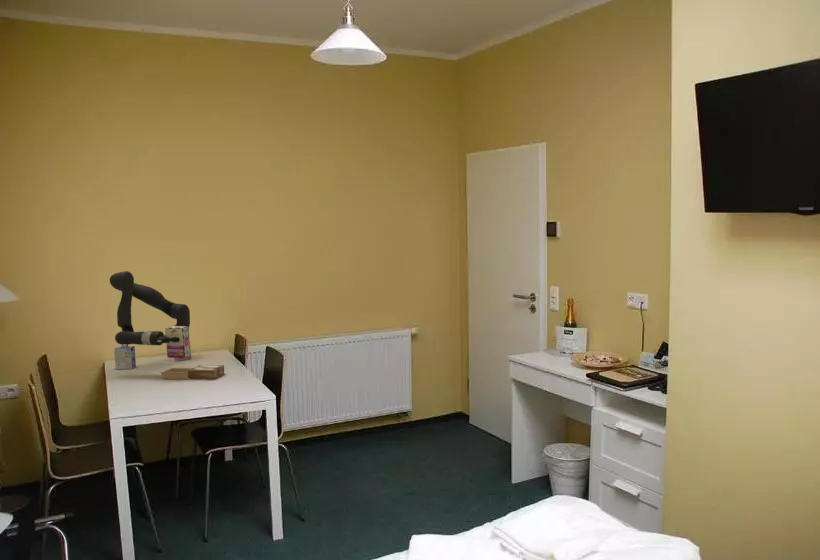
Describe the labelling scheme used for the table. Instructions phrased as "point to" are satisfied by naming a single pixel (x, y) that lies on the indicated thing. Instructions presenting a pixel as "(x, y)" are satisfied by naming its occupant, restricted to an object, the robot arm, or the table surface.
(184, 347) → the candy bar box
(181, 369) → the light wooden frame
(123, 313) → the robot arm
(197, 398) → the table surface
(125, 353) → the ink cartridge box
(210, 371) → the stand
